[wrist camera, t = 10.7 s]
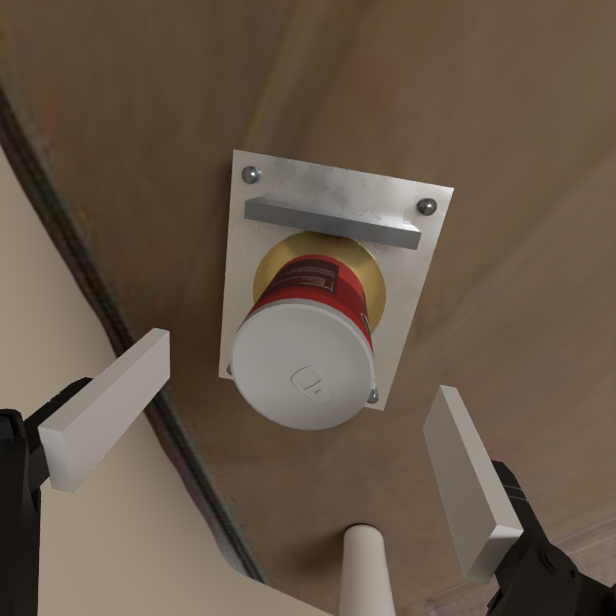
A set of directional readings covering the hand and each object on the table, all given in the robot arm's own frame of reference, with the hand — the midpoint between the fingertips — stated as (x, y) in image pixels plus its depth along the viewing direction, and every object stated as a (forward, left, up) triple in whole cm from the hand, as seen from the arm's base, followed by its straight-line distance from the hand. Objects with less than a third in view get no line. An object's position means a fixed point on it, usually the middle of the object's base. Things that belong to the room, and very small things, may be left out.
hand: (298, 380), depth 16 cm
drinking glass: (+35, +12, -18) cm, 41 cm away
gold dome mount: (0, 0, -18) cm, 18 cm away
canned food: (0, 0, -12) cm, 12 cm away
